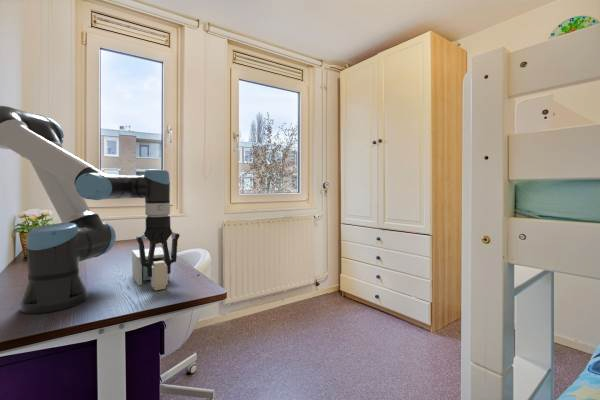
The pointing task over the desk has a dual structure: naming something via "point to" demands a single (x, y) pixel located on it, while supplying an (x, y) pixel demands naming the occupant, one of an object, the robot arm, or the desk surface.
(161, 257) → the white open box
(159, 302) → the desk surface
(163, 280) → the tethered block
